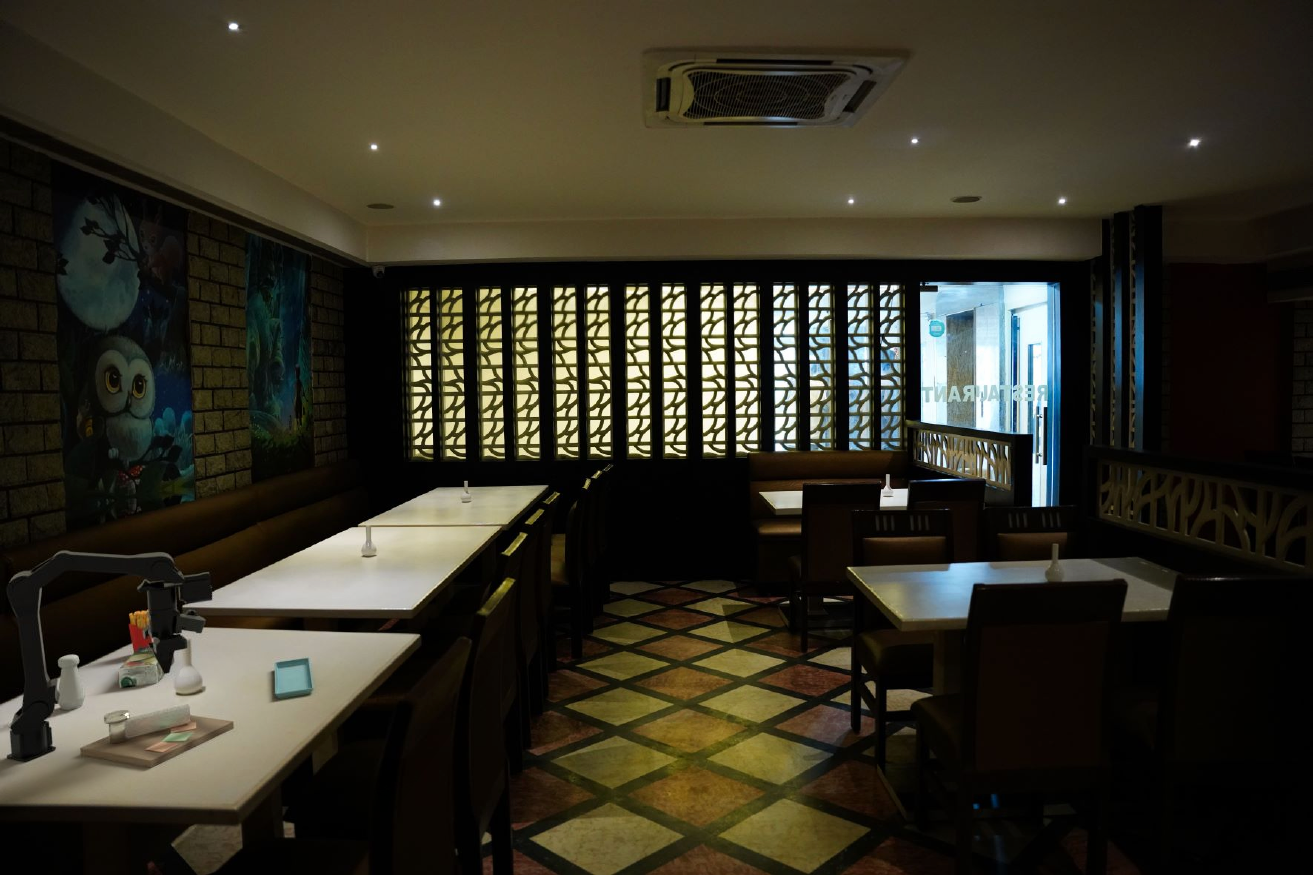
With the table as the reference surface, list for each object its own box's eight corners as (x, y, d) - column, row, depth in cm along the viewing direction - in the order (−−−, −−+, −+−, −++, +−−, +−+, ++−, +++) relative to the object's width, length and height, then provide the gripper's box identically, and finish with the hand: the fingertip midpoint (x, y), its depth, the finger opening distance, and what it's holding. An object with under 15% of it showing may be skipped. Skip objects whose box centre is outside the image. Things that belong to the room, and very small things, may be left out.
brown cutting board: (151, 767, 174) (150, 759, 174) (80, 754, 181) (80, 746, 181) (233, 727, 193) (233, 720, 193) (167, 717, 201) (166, 710, 201)
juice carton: (159, 684, 224) (157, 662, 224) (117, 690, 221) (115, 667, 221) (176, 662, 243) (174, 642, 243) (137, 667, 240) (136, 646, 240)
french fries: (129, 656, 249) (126, 613, 248) (134, 652, 253) (131, 610, 252) (164, 653, 251) (161, 610, 250) (168, 649, 255) (165, 607, 254)
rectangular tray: (314, 695, 214) (314, 686, 214) (275, 701, 210) (274, 692, 210) (310, 665, 238) (309, 657, 238) (274, 670, 234) (274, 662, 234)
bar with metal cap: (107, 746, 180) (105, 720, 180) (104, 739, 184) (102, 714, 184) (192, 725, 191) (190, 700, 191) (187, 719, 195) (186, 694, 194)
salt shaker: (71, 712, 206) (67, 660, 205) (51, 710, 207) (47, 659, 206) (91, 703, 211) (87, 652, 211) (72, 702, 213) (68, 652, 212)
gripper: (210, 608, 192) (214, 674, 193) (192, 594, 207) (196, 655, 207) (154, 617, 185) (158, 686, 186) (140, 602, 199) (144, 666, 200)
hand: (166, 672), depth 195 cm, fingers closed
